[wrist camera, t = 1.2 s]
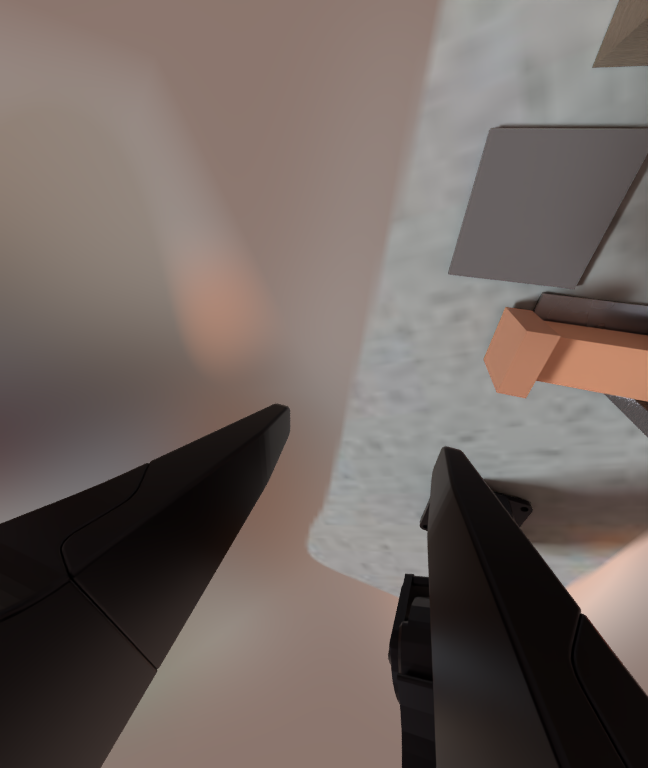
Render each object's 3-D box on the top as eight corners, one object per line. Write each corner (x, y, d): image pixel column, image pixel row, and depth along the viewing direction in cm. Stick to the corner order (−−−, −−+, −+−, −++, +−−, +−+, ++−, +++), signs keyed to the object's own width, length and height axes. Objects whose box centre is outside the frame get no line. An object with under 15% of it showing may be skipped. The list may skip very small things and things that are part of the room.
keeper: (696, 408, 14) (780, 468, 11) (503, 372, 16) (523, 413, 13) (782, 322, 12) (926, 365, 8) (542, 292, 14) (579, 317, 10)
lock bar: (672, 393, 14) (740, 441, 11) (483, 359, 16) (496, 392, 13) (724, 336, 12) (820, 375, 9) (505, 307, 14) (526, 331, 11)
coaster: (570, 287, 13) (574, 288, 13) (448, 273, 14) (448, 274, 14) (653, 131, 10) (661, 128, 10) (489, 130, 11) (491, 127, 11)
